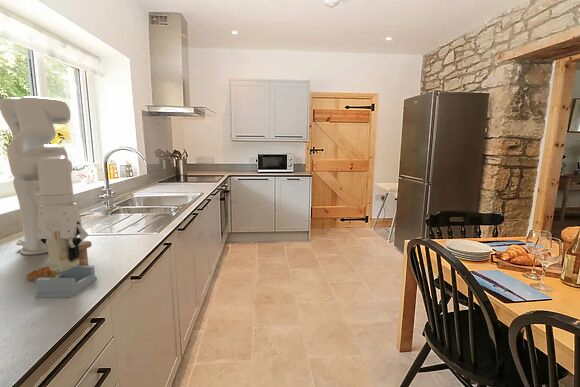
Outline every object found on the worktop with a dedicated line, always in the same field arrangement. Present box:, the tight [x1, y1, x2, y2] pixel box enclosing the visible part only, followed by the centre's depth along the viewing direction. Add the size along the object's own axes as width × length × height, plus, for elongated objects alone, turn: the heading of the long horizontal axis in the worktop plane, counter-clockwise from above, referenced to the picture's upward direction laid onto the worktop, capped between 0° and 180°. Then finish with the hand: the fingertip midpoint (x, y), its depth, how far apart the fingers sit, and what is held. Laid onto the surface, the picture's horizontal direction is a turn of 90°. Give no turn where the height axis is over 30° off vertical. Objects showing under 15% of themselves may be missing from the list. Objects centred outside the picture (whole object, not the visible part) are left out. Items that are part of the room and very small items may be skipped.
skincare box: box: [47, 231, 80, 272], centre depth 90 cm, size 6×4×12 cm
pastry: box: [26, 265, 60, 282], centre depth 98 cm, size 9×7×4 cm
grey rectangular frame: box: [34, 264, 98, 299], centre depth 91 cm, size 10×12×5 cm
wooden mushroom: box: [78, 240, 93, 265], centre depth 102 cm, size 7×7×10 cm
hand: (64, 258), depth 90 cm, fingers closed on skincare box, 5 cm apart
